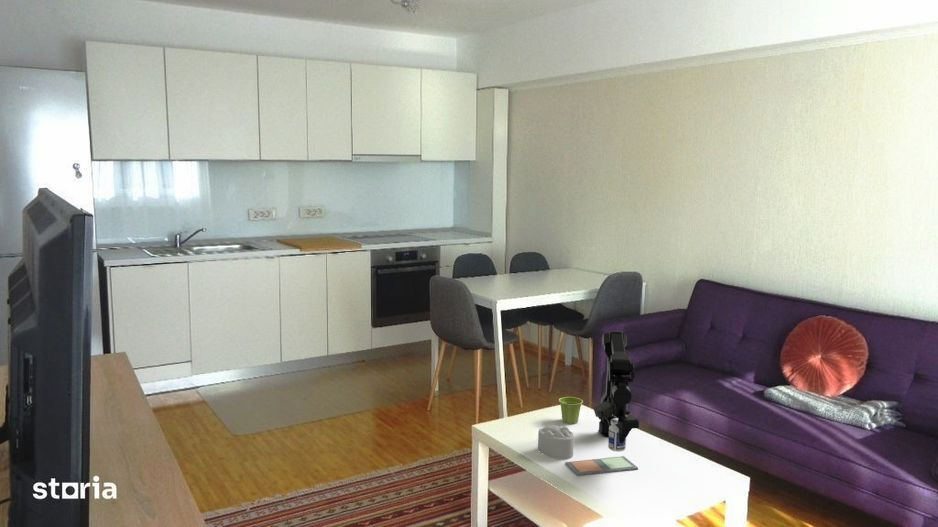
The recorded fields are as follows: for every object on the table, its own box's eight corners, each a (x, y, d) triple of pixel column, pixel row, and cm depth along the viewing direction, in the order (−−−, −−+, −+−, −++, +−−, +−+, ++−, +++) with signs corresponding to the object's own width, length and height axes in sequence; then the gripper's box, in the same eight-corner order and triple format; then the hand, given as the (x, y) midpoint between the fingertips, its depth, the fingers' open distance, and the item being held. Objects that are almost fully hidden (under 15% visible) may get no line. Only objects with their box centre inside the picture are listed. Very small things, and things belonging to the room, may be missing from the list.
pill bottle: (626, 446, 243) (627, 418, 241) (624, 453, 237) (625, 424, 236) (609, 444, 244) (610, 416, 243) (606, 450, 239) (608, 422, 238)
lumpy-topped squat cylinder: (556, 443, 260) (557, 420, 259) (580, 455, 249) (581, 431, 248) (534, 449, 254) (534, 426, 253) (557, 461, 244) (558, 437, 242)
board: (623, 457, 248) (623, 455, 248) (638, 469, 238) (638, 467, 238) (565, 463, 242) (565, 461, 242) (577, 476, 232) (577, 473, 232)
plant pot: (557, 416, 288) (558, 396, 287) (581, 418, 287) (582, 397, 286) (558, 425, 279) (559, 403, 278) (582, 426, 278) (583, 404, 277)
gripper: (585, 388, 245) (583, 431, 247) (610, 405, 227) (608, 452, 229) (614, 386, 248) (612, 429, 250) (641, 403, 230) (639, 449, 232)
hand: (617, 439), depth 240 cm, fingers closed on pill bottle, 6 cm apart
